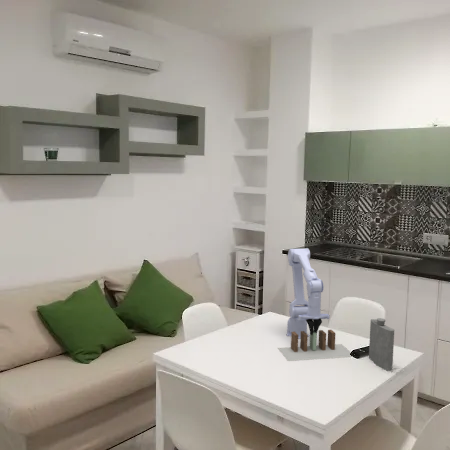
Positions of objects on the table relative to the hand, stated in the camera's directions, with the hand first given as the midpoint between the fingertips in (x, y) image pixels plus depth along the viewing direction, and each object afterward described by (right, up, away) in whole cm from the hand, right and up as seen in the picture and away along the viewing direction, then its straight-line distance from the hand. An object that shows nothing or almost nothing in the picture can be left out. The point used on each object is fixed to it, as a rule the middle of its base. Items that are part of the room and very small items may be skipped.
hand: (313, 334), depth 236 cm
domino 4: (+9, -7, +3) cm, 11 cm away
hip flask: (+26, -10, -15) cm, 32 cm away
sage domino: (0, -7, +1) cm, 7 cm away
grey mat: (+1, -8, -3) cm, 8 cm away
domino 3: (+4, -7, +2) cm, 8 cm away
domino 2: (-4, -7, 0) cm, 8 cm away
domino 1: (-9, -7, -1) cm, 11 cm away
